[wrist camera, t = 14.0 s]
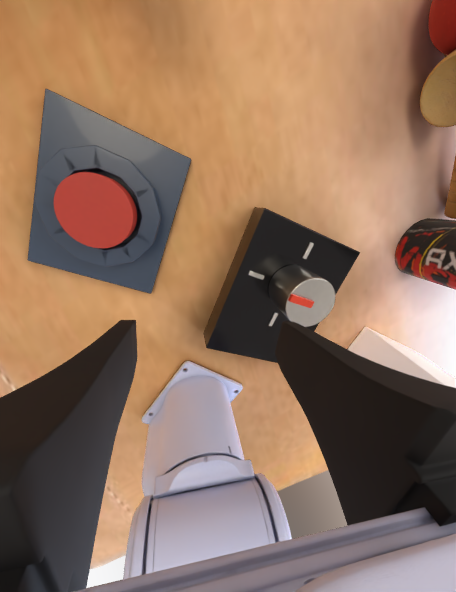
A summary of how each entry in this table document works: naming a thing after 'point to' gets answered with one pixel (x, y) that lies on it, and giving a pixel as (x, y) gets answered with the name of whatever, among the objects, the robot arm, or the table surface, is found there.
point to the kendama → (442, 80)
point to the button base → (118, 166)
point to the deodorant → (429, 251)
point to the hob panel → (257, 275)
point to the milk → (398, 357)
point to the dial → (301, 295)
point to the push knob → (95, 209)
